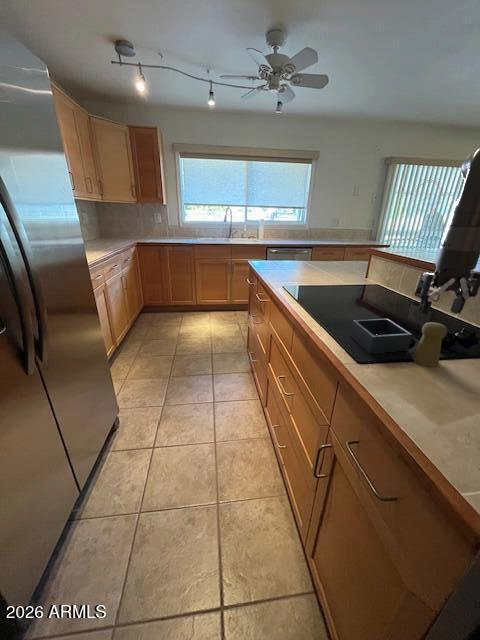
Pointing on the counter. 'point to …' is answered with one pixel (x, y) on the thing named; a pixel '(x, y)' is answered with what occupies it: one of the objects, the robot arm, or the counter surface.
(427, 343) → the cork
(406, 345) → the bin
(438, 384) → the counter surface
